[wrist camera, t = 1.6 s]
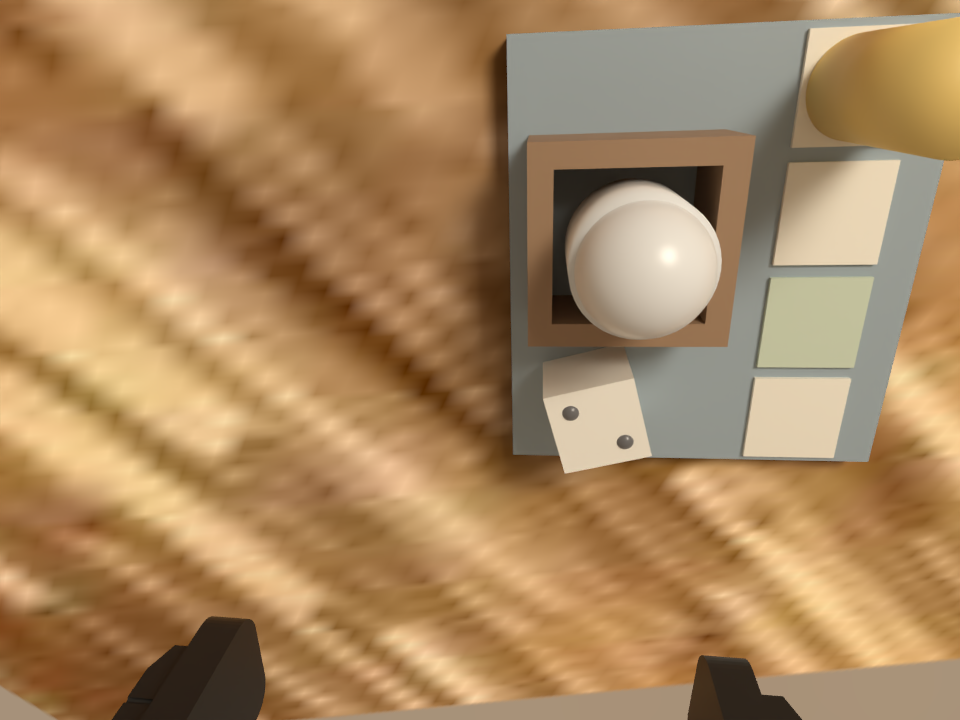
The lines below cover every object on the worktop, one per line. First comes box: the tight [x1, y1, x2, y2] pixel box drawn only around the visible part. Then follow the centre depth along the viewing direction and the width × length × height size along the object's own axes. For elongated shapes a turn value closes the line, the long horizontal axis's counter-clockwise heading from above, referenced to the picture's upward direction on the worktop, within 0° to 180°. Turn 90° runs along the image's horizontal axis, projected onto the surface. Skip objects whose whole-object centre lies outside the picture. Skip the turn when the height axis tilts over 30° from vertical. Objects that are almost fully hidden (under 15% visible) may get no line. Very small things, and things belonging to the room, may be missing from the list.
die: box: [543, 347, 652, 473], centre depth 29 cm, size 4×4×4 cm
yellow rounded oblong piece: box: [806, 17, 960, 161], centre depth 21 cm, size 4×4×7 cm
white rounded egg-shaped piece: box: [565, 178, 722, 340], centre depth 22 cm, size 5×5×6 cm
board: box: [507, 13, 960, 462], centre depth 27 cm, size 20×18×5 cm
